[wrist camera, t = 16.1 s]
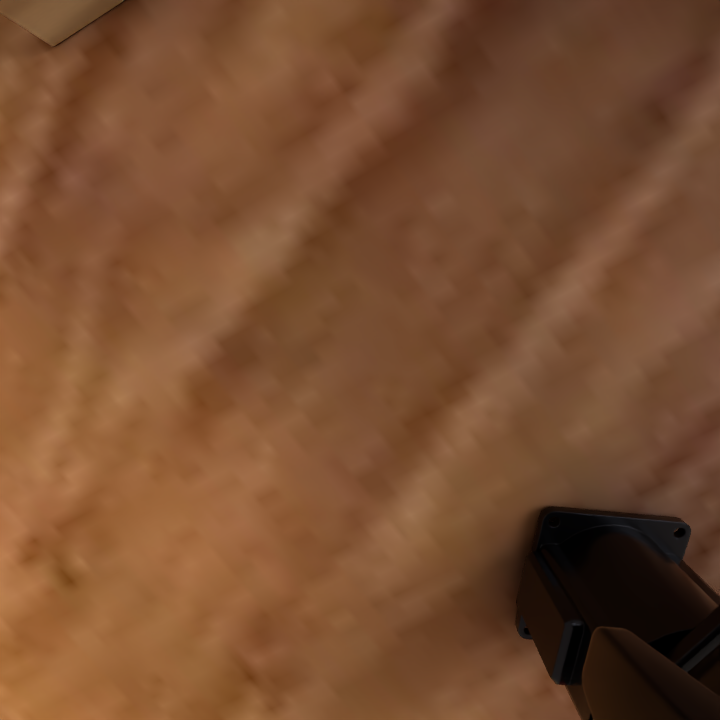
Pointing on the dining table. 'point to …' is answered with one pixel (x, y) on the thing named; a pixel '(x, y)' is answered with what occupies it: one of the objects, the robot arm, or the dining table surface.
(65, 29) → the rack
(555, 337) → the dining table surface
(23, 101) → the dining table surface
